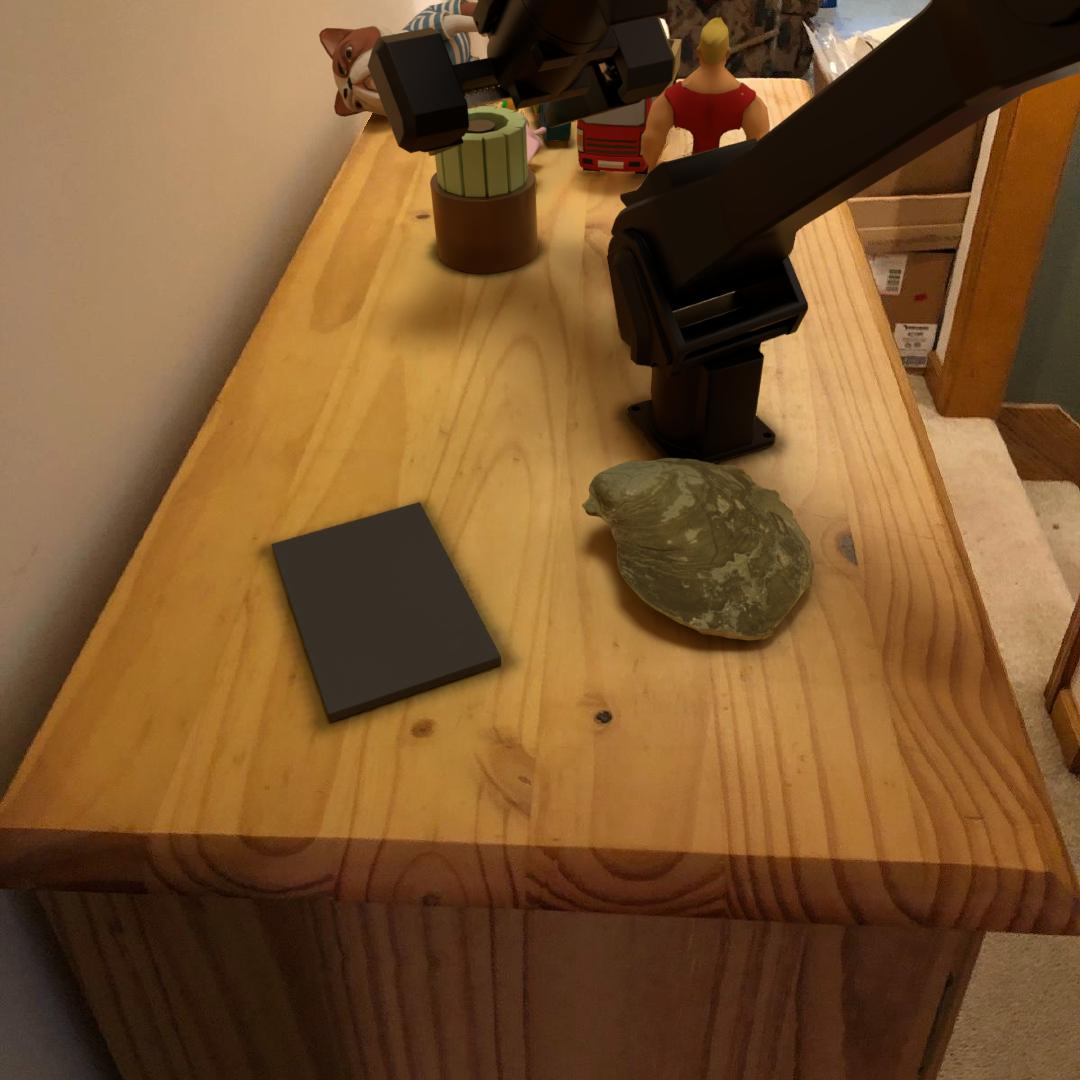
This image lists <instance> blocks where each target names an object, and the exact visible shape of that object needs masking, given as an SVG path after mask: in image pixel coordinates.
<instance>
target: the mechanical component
mask: <svg viewBox="0 0 1080 1080" xmlns="http://www.w3.org/2000/svg"><path fill="white" fill-rule="evenodd" d="M548 103H549V102H548ZM548 103H543V104H539V105H534V106H532V108H533V112H534V115H537V118H538V119H537V120H538V124H539V127H540V128H541V127H545V128H546V132H545V133H543V134H542V137H543V138H542V139H543V141H544V142H569V141H570V138H571V133H572V132H571V131H572V122H570V123H567V124H563V125H560V126H556V127H553V128H550V127H549V126H548V123H547V121H546V118H545V111H546V108H547V106H548Z"/></svg>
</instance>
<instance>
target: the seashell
mask: <svg viewBox="0 0 1080 1080" xmlns="http://www.w3.org/2000/svg"><path fill="white" fill-rule="evenodd" d="M588 492H589V496H588V498H587V499H586V501H585V502H583V503H582V505H581V507H582V508H583V509H584V511H585V513H586V514H587V515H588V516H592V517H597V518H600V519H602V520H603V521H604V522H605V523H606V524H607V525H608V526H610V528H611V534H612V536H613V539H614V541H615V543H616V560H617V569H618V572H619V574H620V576H621V577H622V579H623V580H624V581H625V583H626V584H627V585H628V586H629V587H630V588H631V590H632V591H633V592H634V594H636V596H637V597H638V598H639V599H641V600H642V601H643V602H644V603H645V604H647V606H649V607H651V608H652V609H654V610H655V611H657V612H659V613H661V614H663V615H664V616H666V617H667V618H669V619H671V620H673V621H674V622H676V623H678V624H679V625H682V626H685V627H688V628H690V629H693V630H695V631H697V632H698V633H700V634H701V635H710V636H715V637H722V638H727V639H732V640H733V639H735V640H742V641H759V640H765V639H767V638H770V637H772V636H773V633H774V630H775V628H776V627H777V626H778V625H779V624H780V623H781V622H782V621H783V620H784V618H785V617H786V616H787V615H788V614H789V613H790V612H791V610H792V608H793V607H794V606H795V605H796V603H797V602H798V600H799V599H800V597H801V596H802V594H803V593H804V592H805V591H806V590H807V589H808V588H809V587H810V586H811V575H812V573H813V571H814V565H815V564H814V561H813V559H812V558H811V547H810V545H811V541H810V539H809V538H808V537H807V534H805V532H804V530H802V528H801V526H800V525H799V523H798V521H797V519H796V518H795V517H794V510H793V509H791V508H790V507H789V506H788V505H787V504H786V503H785V501H784V500H783V498H782V496H781V494H780V492H779V491H778V490H776V489H770V488H766V487H762V486H760V485H758V484H757V483H756V482H755V480H754V479H753V478H752V476H751V475H750V474H748V473H747V472H746V471H745V470H744V469H743V468H740V467H739V466H735V465H732V464H716V463H709V462H703V461H699V460H695V459H679V458H663V457H662V458H658V459H656V458H655V459H653V460H628V461H625V462H622V463H619V464H616V465H614V466H612V467H608V468H606V469H605V470H602V471H600V472H598V473H597V474H596V475H594V477H593V478H592V480H591V481H590V484H589V486H588Z"/></svg>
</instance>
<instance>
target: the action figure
mask: <svg viewBox="0 0 1080 1080" xmlns="http://www.w3.org/2000/svg"><path fill="white" fill-rule="evenodd" d="M731 49H732V48H731V46H730V37H729V29H728V26H727V25H726V23H725V22H724V20H723V18H722V17H721V16H719V17H714V18H712V19H710V20H709V21H708V22H707V23H706V24H705V26H703V28H702V30H701V33H700V40H699V45H698V46H697V47H696V58H697V59H698V58H699V67H698V68H697V69H695V70H694V71H693V72H692V73H690V74H689V75H688V76H687V77H685V78H684V79H682V80H679V81H676V83H675V84H674V85H672V86H671V87H668V88H667V89H665V92H664V93H663V94H661V95H660V96H659V97H658V98H657V99H656V100H655V101H654V102H653V103H652V105H651V109H650V112H649V115H648V118H647V123H646V130H645V131H644V133H643V135H642V139H641V149H642V156H643V158H644V160H645V161H646V163H647V164H648V165H649V167H648V174H649V173H650V172H651V171H652V170H653V169H654V168H655V167H657V166H658V165H659V164H660V163H663V162H667V160H664V159H660V157H661V155H662V153H663V151H664V149H665V147H666V144H667V139H668V136H669V133H670V131H671V130H672V128H673V126H674V128H675V129H676V128H679V129H682V130H685V131H687V132H689V133H690V135H691V136H692V150H691V154H690V155H693V154H697V153H700V152H704V151H708V150H712V149H715V148H719V147H720V146H721V145H720V143H721V138H722V137H723V135H724V134H726V133H727V132H730V131H736V130H738V131H740V130H741V129H742V130H743V133H744V135H745V141H746V140H749V139H753V138H756V139H757V141H758V140H759V139H761V138H762V137H763V136H764V135H766V134H767V133H768V132H769V131H770V129H771V128H770V127H771V124H770V117H769V116H770V115H769V110H768V107H767V105H766V104H765V102H764V100H763V99H762V98H761V97H760V96H759V95H757V92H756V90H755V89H752V88H750V86H749V85H747V84H745V83H744V82H741V81H739V80H738V79H737V78H735V76H734V75H733V74H732V73H731V72H730V71H729V70H728V69H727V68H726V67H725V65H726V64H727V59H730V58H731V57H730V56H731V52H732V50H731Z"/></svg>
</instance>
